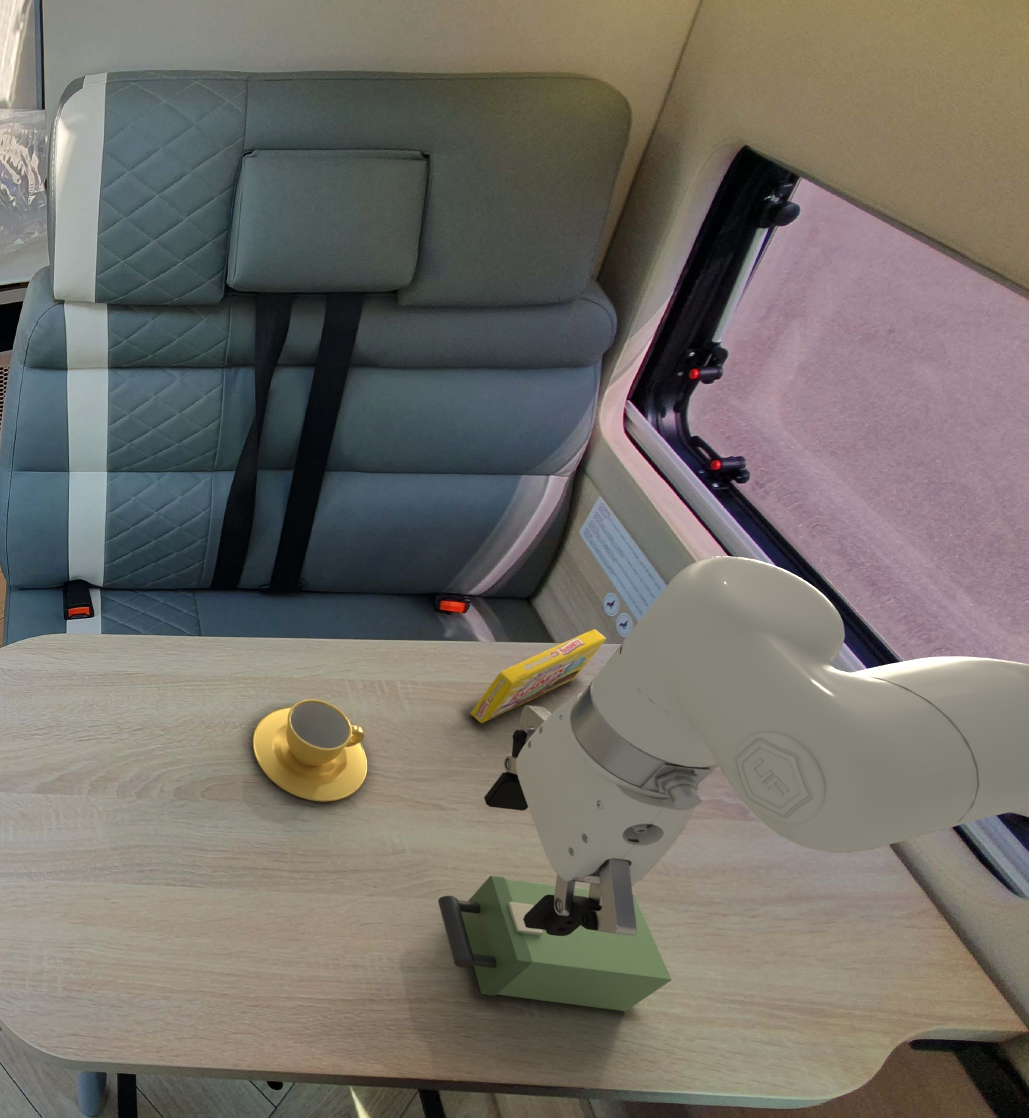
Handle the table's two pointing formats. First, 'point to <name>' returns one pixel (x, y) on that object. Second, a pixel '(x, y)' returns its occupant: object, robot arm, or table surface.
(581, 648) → the candy box
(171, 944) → the table surface
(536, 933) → the lunchbox
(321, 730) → the cup
